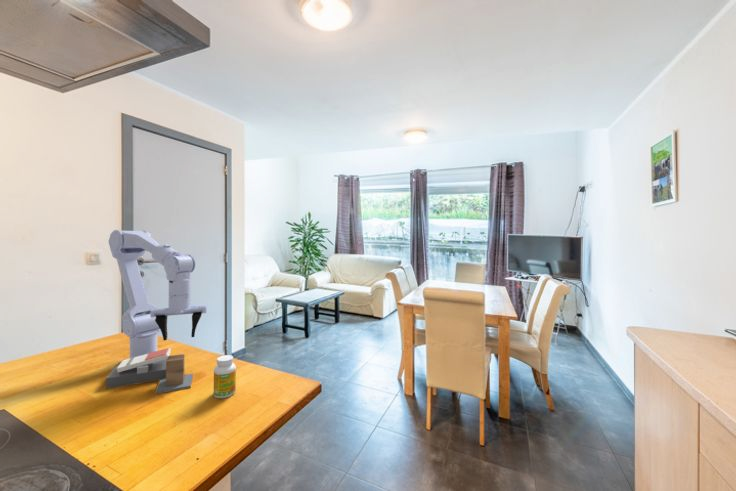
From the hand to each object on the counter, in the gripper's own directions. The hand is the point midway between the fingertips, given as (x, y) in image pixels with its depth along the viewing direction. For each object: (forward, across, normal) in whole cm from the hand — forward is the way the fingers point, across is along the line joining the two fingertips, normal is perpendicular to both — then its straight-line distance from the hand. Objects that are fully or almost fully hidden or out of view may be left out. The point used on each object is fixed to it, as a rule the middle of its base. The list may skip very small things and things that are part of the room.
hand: (179, 337), depth 93 cm
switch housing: (+10, -8, 0) cm, 13 cm away
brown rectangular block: (+10, 0, -9) cm, 13 cm away
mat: (+10, 0, -9) cm, 14 cm away
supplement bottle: (+11, +12, -20) cm, 26 cm away
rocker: (+6, -8, 0) cm, 10 cm away
